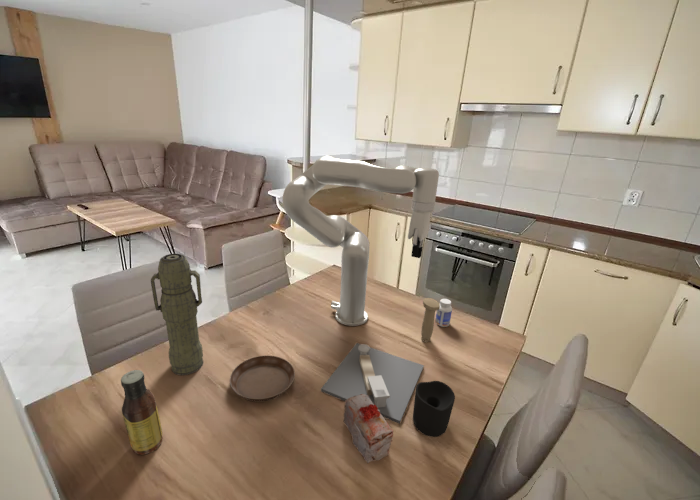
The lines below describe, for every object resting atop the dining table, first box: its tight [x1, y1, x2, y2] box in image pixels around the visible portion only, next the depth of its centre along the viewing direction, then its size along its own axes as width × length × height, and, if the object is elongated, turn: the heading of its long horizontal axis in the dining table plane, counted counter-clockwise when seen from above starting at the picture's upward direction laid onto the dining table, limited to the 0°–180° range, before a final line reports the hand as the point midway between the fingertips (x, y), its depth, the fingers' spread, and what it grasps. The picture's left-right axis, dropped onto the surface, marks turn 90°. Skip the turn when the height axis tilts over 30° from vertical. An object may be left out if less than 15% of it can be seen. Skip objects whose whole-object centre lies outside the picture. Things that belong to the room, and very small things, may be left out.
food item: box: [343, 394, 394, 464], centre depth 80 cm, size 14×8×10 cm, turn 28°
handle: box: [420, 297, 440, 343], centre depth 119 cm, size 5×6×15 cm
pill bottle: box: [434, 298, 453, 328], centre depth 130 cm, size 5×5×10 cm
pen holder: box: [412, 380, 456, 438], centre depth 86 cm, size 9×9×10 cm
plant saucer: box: [229, 354, 296, 403], centre depth 97 cm, size 18×18×3 cm
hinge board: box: [320, 342, 425, 425], centre depth 101 cm, size 23×24×5 cm
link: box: [359, 355, 375, 395], centre depth 100 cm, size 15×3×2 cm, turn 8°
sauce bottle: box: [120, 369, 164, 456], centre depth 74 cm, size 6×6×20 cm
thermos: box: [150, 253, 204, 376], centre depth 96 cm, size 9×12×35 cm
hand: (416, 256), depth 122 cm, fingers closed
